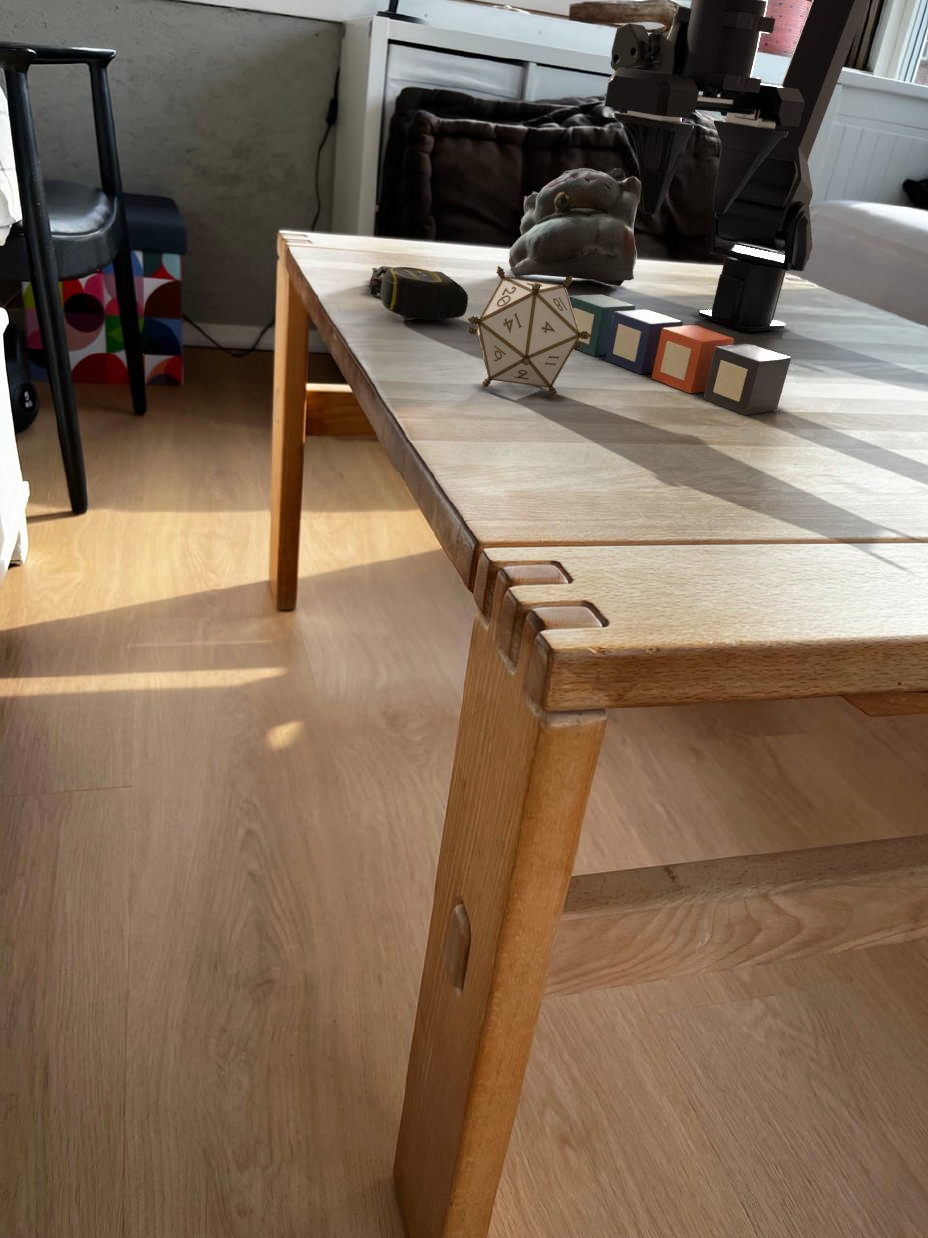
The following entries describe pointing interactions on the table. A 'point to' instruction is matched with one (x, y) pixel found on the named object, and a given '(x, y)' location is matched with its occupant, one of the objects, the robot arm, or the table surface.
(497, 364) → the game die
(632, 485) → the table surface
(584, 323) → the block
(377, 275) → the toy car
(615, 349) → the block
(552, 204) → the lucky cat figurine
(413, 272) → the tape measure
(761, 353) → the block
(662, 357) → the loose block
